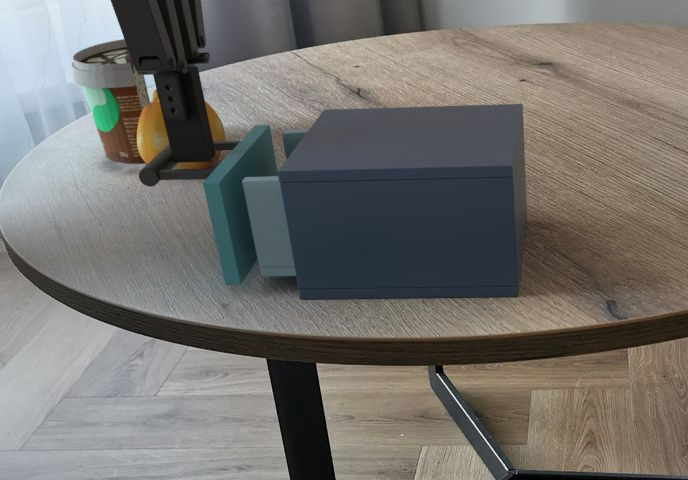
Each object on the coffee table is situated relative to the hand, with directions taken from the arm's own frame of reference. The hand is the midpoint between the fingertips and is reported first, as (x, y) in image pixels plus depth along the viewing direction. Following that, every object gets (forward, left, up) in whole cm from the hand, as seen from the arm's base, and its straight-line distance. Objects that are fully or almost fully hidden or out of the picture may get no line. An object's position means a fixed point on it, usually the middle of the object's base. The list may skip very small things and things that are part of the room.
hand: (194, 158), depth 71 cm
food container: (-18, +26, -8) cm, 33 cm away
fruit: (-10, +21, -8) cm, 25 cm away
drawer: (+7, 0, -7) cm, 10 cm away
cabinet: (+16, 0, -8) cm, 18 cm away
